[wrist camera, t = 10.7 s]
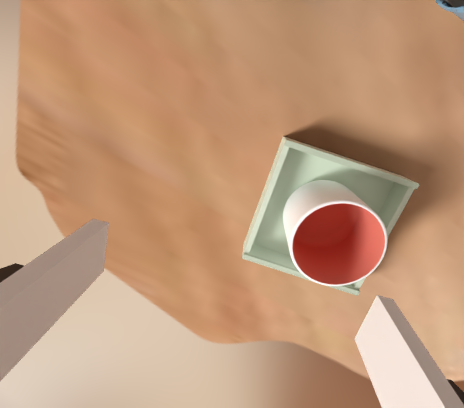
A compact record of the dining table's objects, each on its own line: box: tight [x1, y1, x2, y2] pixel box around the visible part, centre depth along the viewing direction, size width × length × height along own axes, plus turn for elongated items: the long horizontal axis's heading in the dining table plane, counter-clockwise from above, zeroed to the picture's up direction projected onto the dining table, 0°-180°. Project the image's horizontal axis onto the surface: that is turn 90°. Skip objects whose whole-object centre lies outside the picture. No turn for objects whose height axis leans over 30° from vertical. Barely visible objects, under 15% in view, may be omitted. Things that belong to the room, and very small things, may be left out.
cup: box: [283, 180, 387, 286], centre depth 35 cm, size 10×10×10 cm
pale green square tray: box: [242, 136, 420, 296], centre depth 38 cm, size 16×16×4 cm
